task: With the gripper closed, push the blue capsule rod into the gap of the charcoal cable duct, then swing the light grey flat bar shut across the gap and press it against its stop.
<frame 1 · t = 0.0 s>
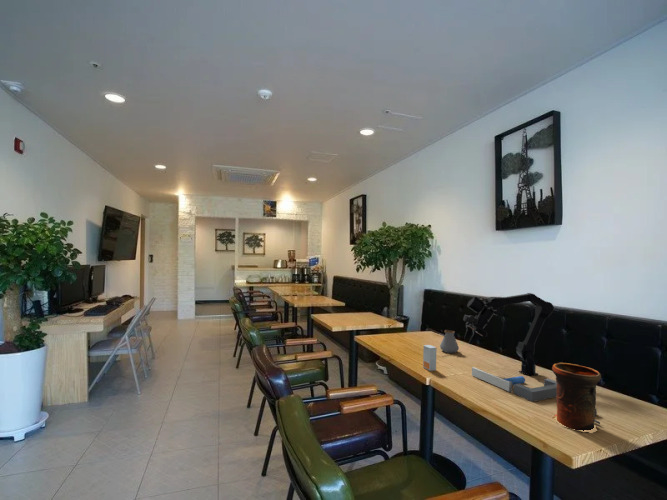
hand: (466, 341, 181), 15 cm above the table, tool tilted 35°, fingers open, 9 cm apart
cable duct: (537, 392, 151), on the table
light grey flat bar: (490, 378, 161), point 3 cm above the table, hinge at 90.0°
blue capsule rod: (514, 383, 162), on the table
walkie-talkie: (582, 414, 132), on the table
coffee pot: (441, 351, 216), on the table
vessel: (575, 424, 123), on the table
skincare box: (429, 369, 180), on the table
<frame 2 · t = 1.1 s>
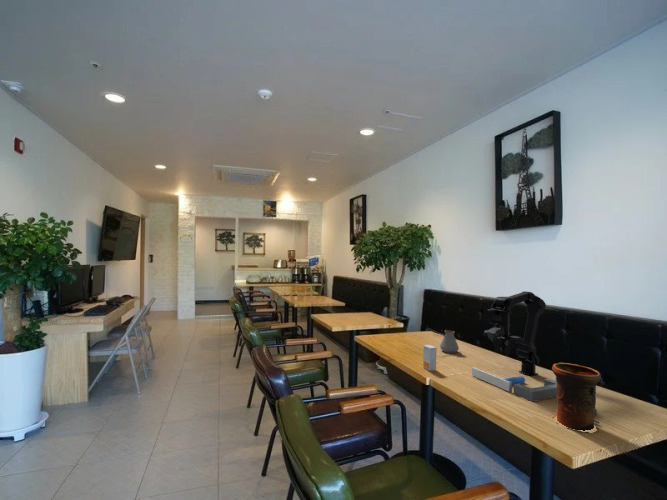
hand: (502, 354, 169), 12 cm above the table, tool pointing down, fingers open, 6 cm apart
nothing on the table moved.
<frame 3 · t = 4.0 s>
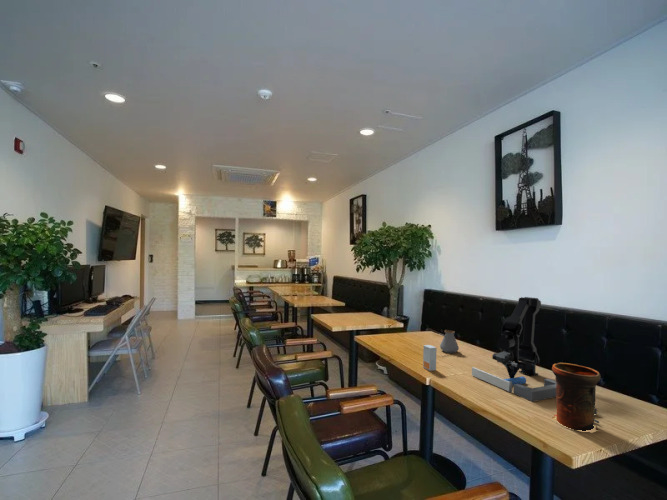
hand: (511, 379, 164), 2 cm above the table, tool pointing down, fingers closed
blue capsule rod: (515, 384, 162), on the table, touching gripper
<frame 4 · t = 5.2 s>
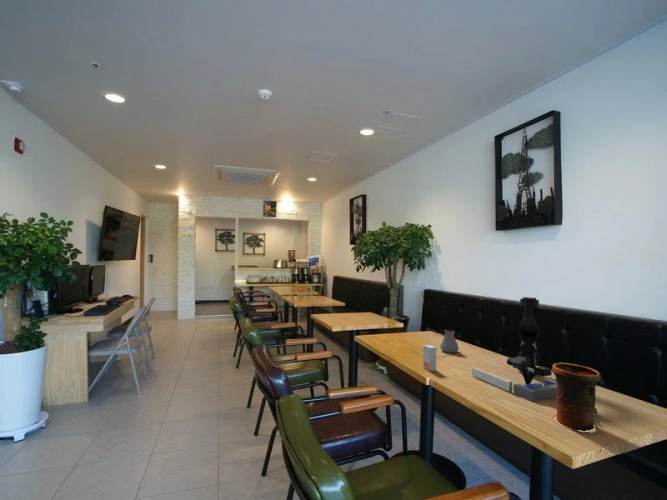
hand: (527, 385, 156), 2 cm above the table, tool pointing down, fingers closed
blue capsule rod: (531, 390, 154), on the table
everything else where it was.
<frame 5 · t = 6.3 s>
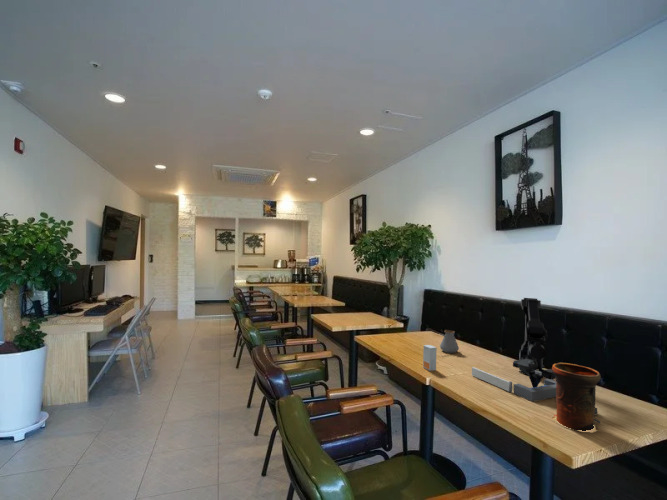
hand: (534, 388, 153), 2 cm above the table, tool pointing down, fingers closed
blue capsule rod: (538, 393, 151), on the table
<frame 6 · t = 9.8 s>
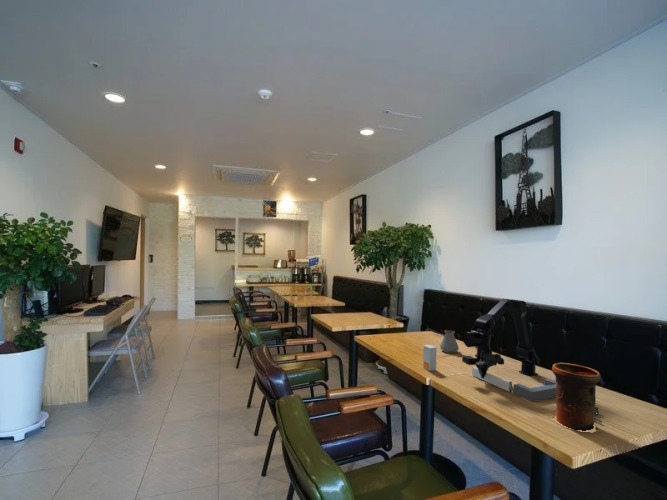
hand: (482, 378, 163), 2 cm above the table, tool pointing down, fingers closed
light grey flat bar: (491, 378, 161), point 3 cm above the table, hinge at 89.3°, touching gripper
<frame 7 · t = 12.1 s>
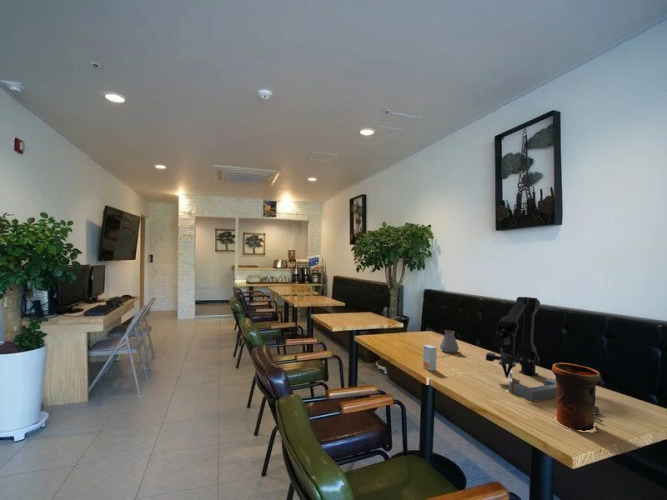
hand: (506, 377, 164), 2 cm above the table, tool pointing down, fingers closed
light grey flat bar: (510, 379, 160), point 3 cm above the table, hinge at 39.4°, touching gripper
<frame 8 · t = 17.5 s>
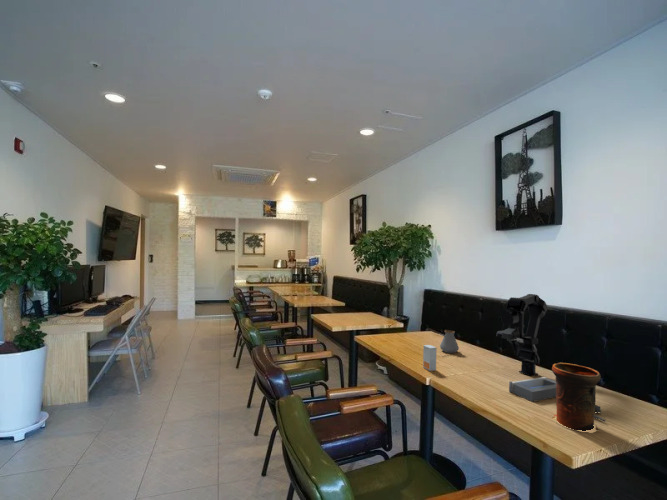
hand: (516, 354, 168), 12 cm above the table, tool pointing down, fingers closed
light grey flat bar: (528, 384, 155), point 3 cm above the table, hinge at -0.3°
walkie-talkie: (586, 412, 134), on the table
everything else where it was.
at the end: blue capsule rod inside the target area (0.5 cm from its centre), on the table; light grey flat bar at +0° (first picture: +90°) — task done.
